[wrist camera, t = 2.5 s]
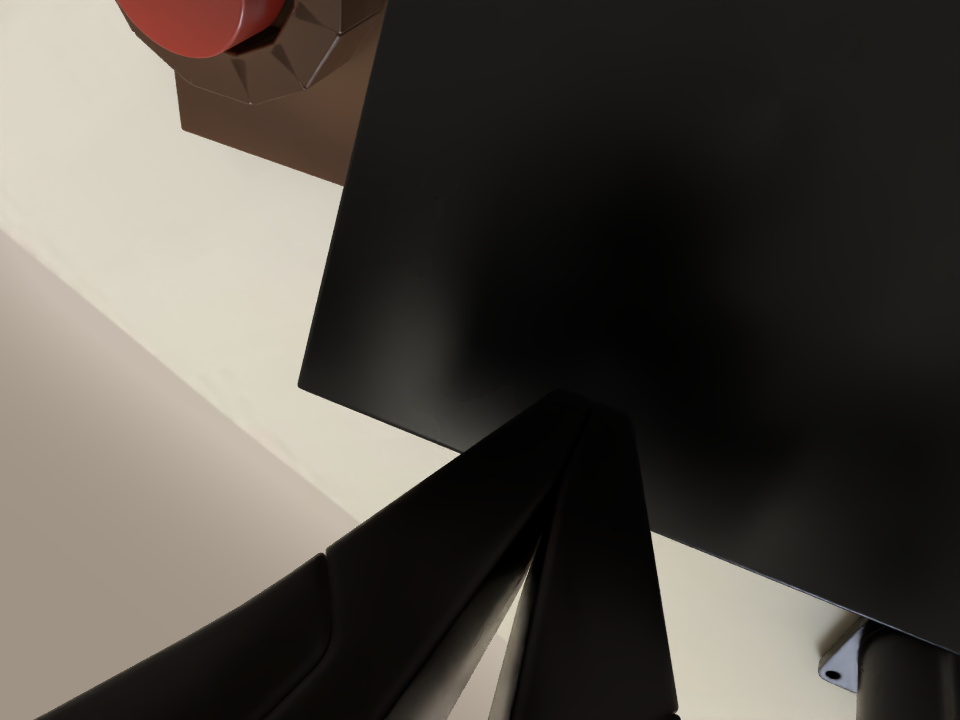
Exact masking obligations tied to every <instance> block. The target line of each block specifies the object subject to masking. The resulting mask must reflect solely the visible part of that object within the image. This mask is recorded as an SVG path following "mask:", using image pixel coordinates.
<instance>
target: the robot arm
mask: <svg viewBox="0 0 960 720" xmlns="http://www.w3.org/2000/svg"><path fill="white" fill-rule="evenodd" d="M529 568H530V569H529ZM528 570H529V572H528ZM527 572H528V575H527ZM526 575H527V577H526ZM525 577H526V580H525V583H524V586H523V590H522V593H521V596H520V600H519V603H518V606H517V610H516V614H515V618H514V622H513V626H512V629H511V633H510V637H509V641H508V645H507V649H506V652H505V656H504V660H503V664H502V668H501V672H500V675H499V679H498V683H497V687H496V691H495V695H494V698H493V702H492V706H491V710H490V714H489V718H488V720H681V718H680V717H679V716H678V715H677V714H675V713H676V712H677V710H678V701H677V695H676V689H675V682H674V676H673V670H672V664H671V657H670V651H669V645H668V638H667V632H666V626H665V620H664V613H663V607H662V601H661V595H660V588H659V582H658V576H657V569H656V563H655V557H654V551H653V544H652V538H651V532H650V525H649V519H648V513H647V507H646V500H645V494H644V488H643V481H642V475H641V469H640V463H639V456H638V450H637V444H636V437H635V431H634V425H633V420H632V418H631V416H630V415H629V414H628V413H626V412H624V411H621V410H618V409H616V408H613V407H611V406H608V405H606V404H603V403H596V404H594V405H593V407H592V401H591V400H590V399H589V398H588V397H585V396H582V395H580V394H577V393H575V392H572V391H569V390H567V389H564V388H556V389H554V390H552V391H551V392H549V393H548V394H546V395H545V396H543V397H542V398H541V399H539V400H538V401H536V402H535V403H533V404H532V405H531V406H529V407H528V408H526V409H525V410H523V411H522V412H521V413H519V414H518V415H516V416H515V417H513V418H512V419H511V420H509V421H508V422H506V423H505V424H503V425H502V426H501V427H499V428H498V429H496V430H495V431H493V432H492V433H491V434H489V435H488V436H486V437H485V438H483V439H482V440H481V441H479V442H478V443H476V444H475V445H473V446H472V447H470V448H469V449H468V450H466V451H465V452H463V453H462V454H460V455H459V456H458V457H456V458H455V459H453V460H452V461H450V462H449V463H448V464H446V465H445V466H443V467H442V468H440V469H439V470H438V471H436V472H435V473H433V474H432V475H430V476H429V477H428V478H426V479H425V480H423V481H422V482H420V483H419V484H418V485H416V486H415V487H413V488H412V489H410V490H409V491H408V492H406V493H405V494H403V495H402V496H400V497H399V498H398V499H396V500H395V501H393V502H392V503H390V504H389V505H388V506H386V507H385V508H383V509H382V510H380V511H379V512H377V513H376V514H375V515H373V516H372V517H370V518H369V519H367V520H366V521H365V522H363V523H362V524H360V525H359V526H357V527H356V528H355V529H353V530H352V531H351V532H349V533H347V534H346V535H345V536H343V537H342V538H340V539H339V540H337V541H336V542H335V543H333V544H332V545H330V546H329V547H328V548H327V549H326V555H325V554H324V553H318V554H317V555H315V556H314V557H313V558H311V559H310V560H308V561H307V562H305V563H304V564H303V565H301V566H300V567H298V568H297V569H295V570H294V571H293V572H291V573H290V574H288V575H287V576H285V577H284V578H282V579H281V580H279V581H278V582H276V583H275V584H273V585H271V586H270V587H268V588H267V589H265V590H264V591H262V592H261V593H259V594H258V595H256V596H255V597H253V598H252V599H250V600H249V601H247V602H245V603H244V604H242V605H241V606H239V607H237V608H236V609H234V610H232V611H231V612H229V613H227V614H225V615H224V616H222V617H220V618H218V619H217V620H215V621H213V622H211V623H210V624H208V625H206V626H205V627H203V628H201V629H199V630H198V631H196V632H194V633H192V634H191V635H189V636H187V637H185V638H184V639H182V640H180V641H178V642H176V643H174V644H173V645H171V646H169V647H167V648H165V649H164V650H162V651H160V652H158V653H156V654H154V655H152V656H150V657H149V658H147V659H145V660H143V661H141V662H140V663H138V664H136V665H134V666H132V667H130V668H129V669H127V670H125V671H123V672H121V673H119V674H117V675H116V676H114V677H112V678H110V679H108V680H106V681H105V682H103V683H101V684H99V685H97V686H95V687H94V688H92V689H90V690H88V691H86V692H84V693H83V694H81V695H79V696H77V697H75V698H73V699H72V700H70V701H68V702H66V703H64V704H62V705H61V706H59V707H57V708H55V709H53V710H51V711H50V712H48V713H46V714H44V715H42V716H40V717H38V718H36V719H34V720H447V718H448V716H449V714H450V712H451V711H452V709H453V707H454V705H455V704H456V702H457V700H458V698H459V697H460V695H461V693H462V691H463V689H464V688H465V686H466V684H467V682H468V681H469V679H470V677H471V675H472V674H473V672H474V670H475V668H476V666H477V665H478V663H479V661H480V659H481V657H482V656H483V654H484V652H485V651H486V649H487V647H488V645H489V644H490V642H491V640H492V638H493V636H494V635H495V633H496V631H497V629H498V628H499V626H500V624H501V622H502V621H503V619H504V617H505V615H506V613H507V612H508V610H509V608H510V606H511V605H512V603H513V601H514V599H515V597H516V595H517V593H518V591H519V589H520V588H521V586H522V584H523V581H524V579H525ZM818 673H819V676H820V677H821V678H822V679H824V680H826V681H828V682H830V683H833V684H835V685H837V686H840V687H842V688H844V689H847V690H849V691H851V692H854V693H856V694H857V713H856V720H960V656H959V655H956V654H954V653H951V652H949V651H946V650H944V649H941V648H939V647H936V646H934V645H931V644H929V643H926V642H924V641H922V640H919V639H917V638H914V637H912V636H909V635H907V634H904V633H902V632H899V631H897V630H894V629H892V628H889V627H887V626H885V625H882V624H880V623H877V622H875V621H872V620H870V619H867V618H865V617H861V618H860V619H859V620H858V621H857V622H856V623H855V624H854V625H853V626H852V627H851V628H850V629H849V630H848V631H847V632H846V633H845V634H844V635H843V636H842V638H841V639H840V640H839V641H838V642H837V643H836V644H835V645H834V646H833V647H832V648H831V649H830V650H829V651H828V652H827V653H826V654H825V655H824V656H823V657H822V658H821V659H820V661H819V668H818Z"/></svg>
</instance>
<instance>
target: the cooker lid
mask: <svg viewBox="0 0 960 720" xmlns="http://www.w3.org/2000/svg"><path fill="white" fill-rule="evenodd" d="M298 387H299V388H300V389H303V390H305V391H307V392H310V393H312V394H315V395H317V396H320V397H322V398H325V399H327V400H330V401H332V402H335V403H337V404H339V405H342V406H344V407H347V408H349V409H352V410H354V411H357V412H359V413H362V414H364V415H367V416H369V417H372V418H374V419H376V420H379V421H381V422H384V423H386V424H389V425H391V426H394V427H396V428H399V429H401V430H404V431H406V432H409V433H411V434H413V435H416V436H418V437H421V438H423V439H426V440H428V441H431V442H433V443H436V444H438V445H441V446H443V447H446V448H448V449H450V450H453V451H455V452H458V453H460V454H462V453H463V452H465V451H466V450H468V449H469V448H470V447H472V446H473V445H475V444H476V443H478V442H479V441H481V440H482V439H483V438H485V437H486V436H488V435H489V434H491V433H492V432H493V431H495V430H496V429H498V428H499V427H501V426H502V425H503V424H505V423H506V422H508V421H509V420H511V419H512V418H513V417H515V416H516V415H518V414H519V413H521V412H522V411H523V410H525V409H526V408H528V407H529V406H531V405H532V404H533V403H535V402H536V401H538V400H539V399H541V398H542V397H543V396H545V395H546V394H548V393H549V392H551V391H552V390H554V389H556V388H564V389H567V390H569V391H572V392H575V393H577V394H580V395H582V396H585V397H588V398H589V399H590V400H591V401H592V407H593V405H594V404H596V403H603V404H606V405H608V406H611V407H613V408H616V409H618V410H621V411H624V412H626V413H628V414H629V415H630V416H631V418H632V420H633V425H634V431H635V437H636V444H637V450H638V456H639V463H640V469H641V475H642V481H643V488H644V494H645V500H646V507H647V513H648V519H649V525H650V531H653V532H655V533H658V534H660V535H663V536H665V537H667V538H670V539H672V540H675V541H677V542H680V543H682V544H685V545H687V546H690V547H692V548H695V549H697V550H700V551H702V552H704V553H707V554H709V555H712V556H714V557H717V558H719V559H722V560H724V561H727V562H729V563H732V564H734V565H737V566H739V567H741V568H744V569H746V570H749V571H751V572H754V573H756V574H759V575H761V576H764V577H766V578H769V579H771V580H774V581H776V582H778V583H781V584H783V585H786V586H788V587H791V588H793V589H796V590H798V591H801V592H803V593H806V594H808V595H811V596H813V597H815V598H818V599H820V600H823V601H825V602H828V603H830V604H833V605H835V606H838V607H840V608H843V609H845V610H848V611H850V612H852V613H855V614H857V615H860V616H862V617H865V618H867V619H870V620H872V621H875V622H877V623H880V624H882V625H885V626H887V627H889V628H892V629H894V630H897V631H899V632H902V633H904V634H907V635H909V636H912V637H914V638H917V639H919V640H922V641H924V642H926V643H929V644H931V645H934V646H936V647H939V648H941V649H944V650H946V651H949V652H951V653H954V654H956V655H959V656H960V0H388V1H387V5H386V9H385V13H384V18H383V22H382V26H381V30H380V35H379V39H378V43H377V48H376V52H375V56H374V60H373V65H372V69H371V73H370V77H369V82H368V86H367V90H366V94H365V99H364V103H363V107H362V111H361V116H360V120H359V124H358V128H357V133H356V137H355V141H354V146H353V150H352V154H351V158H350V163H349V167H348V171H347V175H346V180H345V184H344V188H343V192H342V197H341V201H340V205H339V209H338V214H337V218H336V222H335V226H334V231H333V235H332V239H331V244H330V248H329V252H328V256H327V261H326V265H325V269H324V273H323V278H322V282H321V286H320V290H319V295H318V299H317V303H316V307H315V312H314V316H313V320H312V324H311V329H310V333H309V337H308V342H307V346H306V350H305V354H304V359H303V363H302V367H301V371H300V376H299V380H298Z"/></svg>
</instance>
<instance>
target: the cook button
mask: <svg viewBox="0 0 960 720" xmlns="http://www.w3.org/2000/svg"><path fill="white" fill-rule="evenodd" d="M117 2H118V3H119V5H120V6H121V8H122V9H123V10H124V12H125V13H126V15H127V16H128V17H129V18H130V19H131V21H132V22H133V23H134V24H135V25H136V26H137V27H138V28H139V29H140V30H141V31H142V32H143V33H144V34H145V35H146V36H148V37H149V38H150V39H151V40H152V41H154V42H155V43H157V44H158V45H160V46H161V47H163V48H165V49H167V50H169V51H171V52H173V53H176V54H178V55H182V56H185V57H191V58H209V57H213V56H216V55H218V54H220V53H222V52H224V51H226V50H228V49H230V48H232V47H234V46H235V45H237V44H239V43H241V42H243V41H245V40H246V39H248V38H250V37H252V36H254V35H256V34H257V33H259V32H261V31H263V30H264V29H266V28H267V27H268V26H270V25H271V24H272V23H273V22H274V21H275V19H276V18H277V16H278V15H279V13H280V12H281V10H282V7H283V5H284V3H285V0H117Z"/></svg>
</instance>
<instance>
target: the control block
mask: <svg viewBox="0 0 960 720" xmlns="http://www.w3.org/2000/svg"><path fill="white" fill-rule="evenodd" d="M115 1H116V3H117V4H118V6H119V8H120V10H121V12H122V13H123V15H124V17H125V19H126V21H127V22H128V24H129V26H130V28H131V30H132V31H133V32H135V34H136V36H138V37H139V38H140V39H141V40H142V41H143V42H144V43H145V44H146V45H147V46H148V47H150V48H151V49H152V50H153V51H154V52H155V53H156V54H157V55H158V56H159V57H160V58H162V59H163V60H164V61H165V62H166V63H167V64H168V65H169V66H170V67H171V68H172V69H174V72H175V80H176V88H177V96H178V104H179V112H180V120H181V128H182V129H183V130H184V131H187V132H190V133H193V134H195V135H198V136H201V137H204V138H207V139H210V140H213V141H215V142H218V143H221V144H224V145H227V146H230V147H233V148H235V149H238V150H241V151H244V152H247V153H250V154H252V155H255V156H258V157H261V158H264V159H267V160H270V161H272V162H275V163H278V164H281V165H284V166H287V167H290V168H292V169H295V170H298V171H301V172H304V173H307V174H310V175H312V176H315V177H318V178H321V179H324V180H327V181H330V182H332V183H335V184H338V185H341V186H344V184H345V180H346V175H347V171H348V167H349V163H350V158H351V154H352V150H353V146H354V141H355V137H356V133H357V128H358V124H359V120H360V116H361V111H362V107H363V103H364V99H365V94H366V90H367V86H368V82H369V77H370V73H371V69H372V65H373V60H374V56H375V52H376V48H377V43H378V39H379V35H380V30H381V26H382V22H383V18H384V13H385V9H386V5H387V1H388V0H285V3H284V5H283V7H282V10H281V12H280V13H279V15H278V16H277V18H276V19H275V21H274V22H273V23H272V24H271V25H270V26H268V27H267V28H266V29H264V30H263V31H261V32H259V33H257V34H256V35H254V36H252V37H250V38H248V39H246V40H245V41H243V42H241V43H239V44H237V45H235V46H234V47H232V48H230V49H228V50H226V51H224V52H222V53H220V54H218V55H216V56H213V57H209V58H191V57H185V56H182V55H178V54H176V53H173V52H171V51H169V50H167V49H165V48H163V47H161V46H160V45H158V44H157V43H155V42H154V41H152V40H151V39H150V38H149V37H148V36H146V35H145V34H144V33H143V32H142V31H141V30H140V29H139V28H138V27H137V26H136V25H135V24H134V23H133V22H132V21H131V19H130V18H129V17H128V16H127V15H126V13H125V12H124V10H123V9H122V8H121V6H120V5H119V3H118V2H117V0H115Z"/></svg>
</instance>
